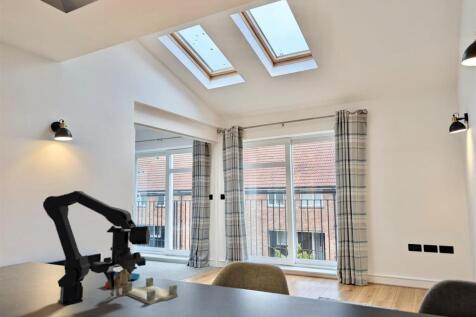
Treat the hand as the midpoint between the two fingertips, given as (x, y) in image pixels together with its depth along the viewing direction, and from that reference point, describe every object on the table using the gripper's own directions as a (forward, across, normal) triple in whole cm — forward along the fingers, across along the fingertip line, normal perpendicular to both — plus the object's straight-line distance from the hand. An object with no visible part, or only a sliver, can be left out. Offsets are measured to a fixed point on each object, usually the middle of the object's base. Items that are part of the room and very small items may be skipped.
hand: (118, 288), depth 116 cm
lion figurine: (+3, +1, 0) cm, 3 cm away
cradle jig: (+4, +12, -2) cm, 13 cm away
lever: (+5, +12, +22) cm, 26 cm away
